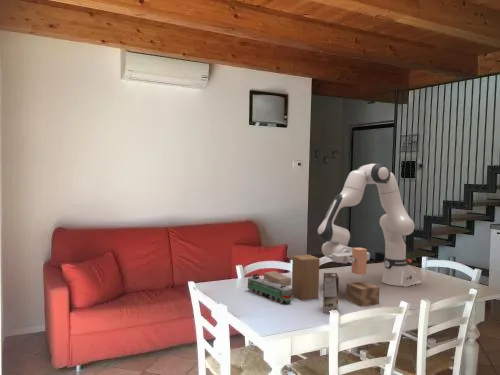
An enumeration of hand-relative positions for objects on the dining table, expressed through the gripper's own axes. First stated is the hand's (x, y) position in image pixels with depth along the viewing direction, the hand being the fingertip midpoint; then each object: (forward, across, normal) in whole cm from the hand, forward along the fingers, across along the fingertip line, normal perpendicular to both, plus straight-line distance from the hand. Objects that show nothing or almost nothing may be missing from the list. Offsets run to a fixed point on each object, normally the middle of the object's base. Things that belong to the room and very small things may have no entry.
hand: (360, 259), depth 210 cm
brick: (-43, -23, +20) cm, 53 cm away
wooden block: (-15, -22, +20) cm, 33 cm away
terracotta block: (-1, 0, +7) cm, 7 cm away
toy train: (-20, -39, +20) cm, 49 cm away
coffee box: (+7, -22, +20) cm, 31 cm away
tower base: (+2, 0, +20) cm, 20 cm away
